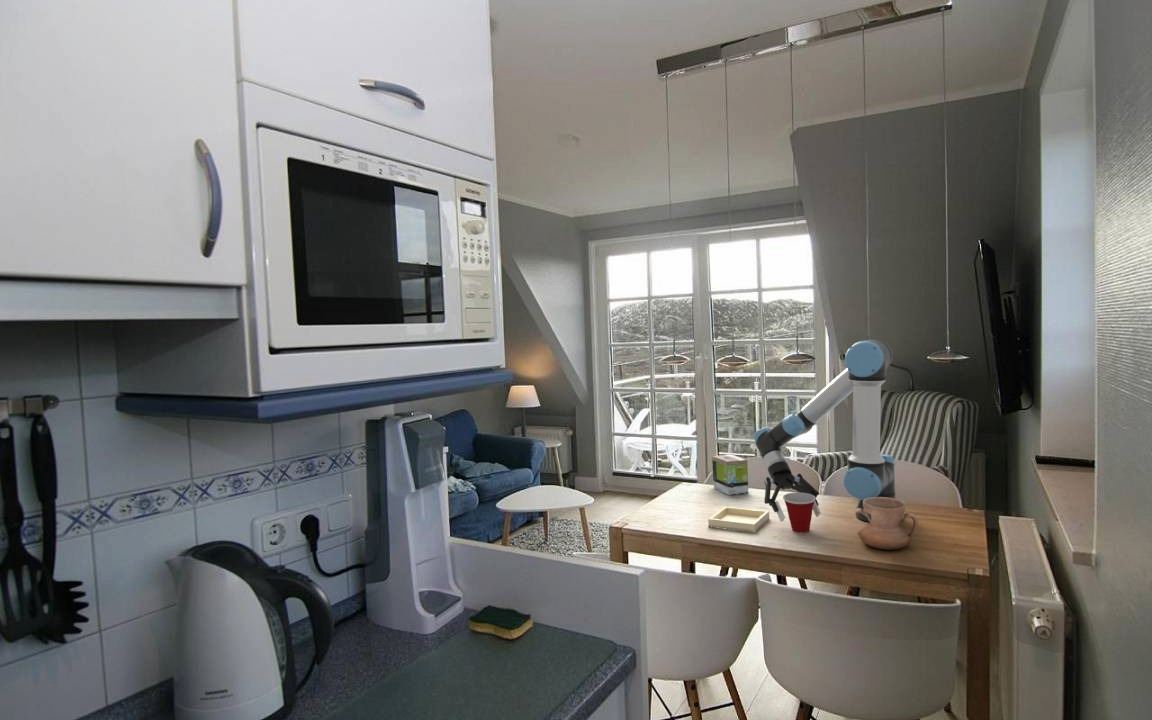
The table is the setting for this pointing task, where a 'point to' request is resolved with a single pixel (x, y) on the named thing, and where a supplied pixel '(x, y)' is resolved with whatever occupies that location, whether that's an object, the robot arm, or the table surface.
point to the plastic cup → (799, 510)
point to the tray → (739, 519)
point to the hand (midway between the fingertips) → (800, 517)
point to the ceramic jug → (885, 523)
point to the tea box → (730, 474)
